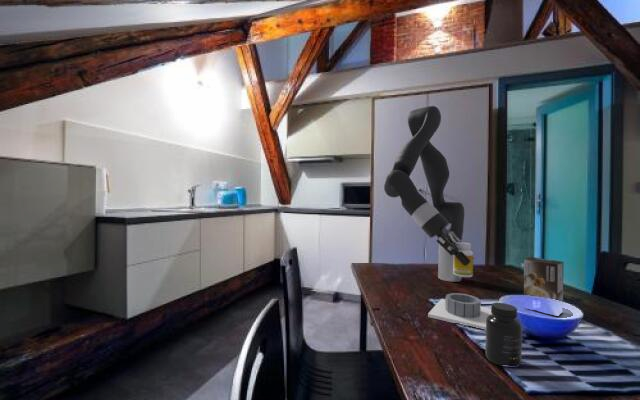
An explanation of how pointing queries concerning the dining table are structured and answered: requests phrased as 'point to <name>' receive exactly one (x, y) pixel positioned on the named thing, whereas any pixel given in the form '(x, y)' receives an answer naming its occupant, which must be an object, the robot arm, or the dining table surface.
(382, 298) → the dining table surface
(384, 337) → the dining table surface
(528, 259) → the coffee box
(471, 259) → the supplement bottle
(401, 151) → the robot arm
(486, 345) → the supplement bottle
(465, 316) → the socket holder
